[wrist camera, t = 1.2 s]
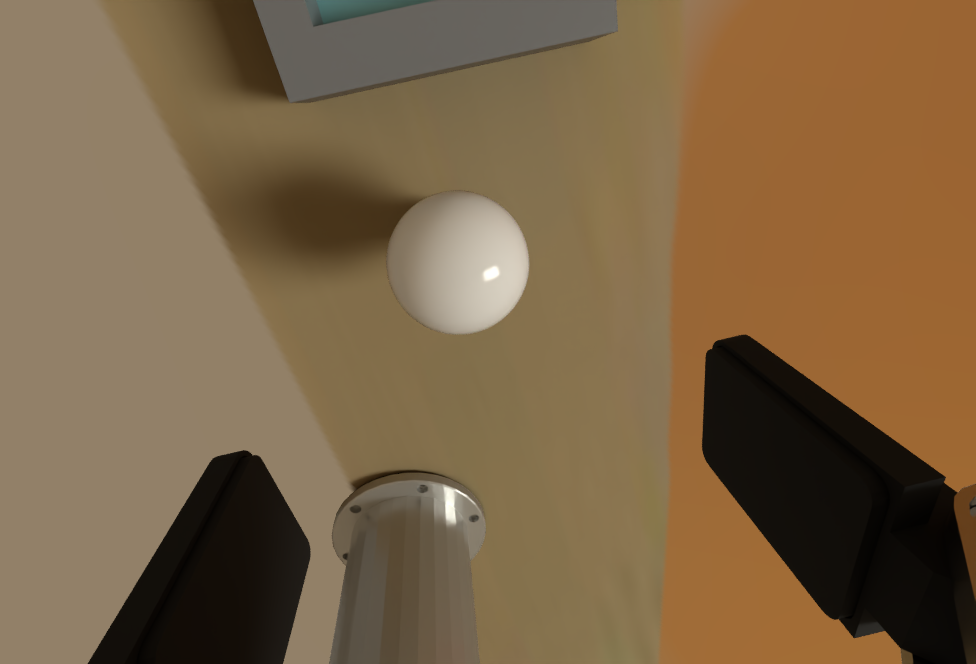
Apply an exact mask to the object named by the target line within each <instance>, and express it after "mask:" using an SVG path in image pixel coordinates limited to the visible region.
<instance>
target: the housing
mask: <svg viewBox="0 0 976 664" xmlns="http://www.w3.org/2000/svg"><path fill="white" fill-rule="evenodd" d="M253 2H254V5H255V8H256V10H257V13H258V16H259V19H260V22H261V24H262V27H263V30H264V33H265V35H266V38H267V41H268V44H269V47H270V49H271V52H272V55H273V58H274V61H275V63H276V66H277V69H278V72H279V74H280V77H281V80H282V83H283V86H284V88H285V91H286V94H287V97H288V99H289V102H290V103H310V102H315V101H319V100H324V99H329V98H333V97H338V96H342V95H347V94H351V93H356V92H361V91H365V90H370V89H374V88H379V87H383V86H388V85H393V84H397V83H402V82H406V81H411V80H415V79H420V78H424V77H429V76H434V75H438V74H443V73H447V72H452V71H456V70H461V69H466V68H470V67H475V66H479V65H484V64H488V63H493V62H498V61H502V60H507V59H511V58H516V57H520V56H525V55H529V54H534V53H539V52H543V51H548V50H552V49H557V48H561V47H566V46H571V45H575V44H580V43H584V42H589V41H592V40H595V39H597V38H600V37H603V36H606V35H608V34H611V33H614V32H616V31H618V25H617V4H616V0H253Z"/></svg>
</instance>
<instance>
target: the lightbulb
mask: <svg viewBox="0 0 976 664" xmlns="http://www.w3.org/2000/svg"><path fill="white" fill-rule="evenodd" d="M386 268H387V275H388V280H389V283H390V286H391V289H392V291H393V293H394V295H395V297H396V299H397V301H398V302H399V304H400V305H401V306H402V308H403V309H404V310H405V311H406V312H407V313H408V314H409V315H410V316H411V317H412V318H413V319H414V320H416V321H417V322H419V323H420V324H422V325H423V326H425V327H427V328H429V329H432V330H434V331H437V332H441V333H445V334H452V335H465V334H472V333H476V332H480V331H483V330H485V329H488V328H490V327H492V326H493V325H495V324H497V323H498V322H500V321H501V320H502V319H503V318H505V317H506V316H507V315H508V314H509V313H510V312H511V311H512V310H513V308H514V307H515V306H516V304H517V303H518V301H519V300H520V298H521V296H522V294H523V292H524V289H525V286H526V283H527V279H528V274H529V253H528V248H527V244H526V241H525V238H524V235H523V233H522V231H521V229H520V227H519V225H518V224H517V222H516V221H515V219H514V218H513V217H512V216H511V215H510V213H509V212H508V211H507V210H506V209H504V208H503V207H502V206H501V205H499V204H498V203H497V202H495V201H493V200H492V199H490V198H488V197H486V196H483V195H481V194H477V193H474V192H469V191H458V190H457V191H445V192H440V193H437V194H434V195H431V196H429V197H426V198H424V199H423V200H421V201H419V202H418V203H416V204H415V205H414V206H412V207H411V208H410V209H409V210H408V211H407V212H406V213H405V214H404V215H403V216H402V218H401V219H400V220H399V222H398V223H397V225H396V227H395V228H394V230H393V233H392V235H391V238H390V240H389V244H388V248H387V256H386Z"/></svg>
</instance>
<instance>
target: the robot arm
mask: <svg viewBox="0 0 976 664" xmlns="http://www.w3.org/2000/svg"><path fill="white" fill-rule="evenodd" d="M702 450H703V454H704V457H705V460H706V462H707V463H708V464H709V466H710V467H711V469H712V470H713V471H714V472H715V474H716V475H717V476H718V478H719V479H720V480H721V482H722V483H723V484H724V485H725V487H726V488H727V489H728V491H729V492H730V493H731V494H732V496H733V497H734V498H735V500H736V501H737V502H738V503H739V505H740V506H741V507H742V508H743V510H744V511H745V512H746V514H747V515H748V516H749V517H750V519H751V520H752V521H753V522H754V524H755V525H756V526H757V528H758V529H759V530H760V531H761V533H762V534H763V535H764V537H765V538H766V539H767V540H768V542H769V543H770V544H771V546H772V547H773V548H774V549H775V551H776V552H777V553H778V555H779V556H780V557H781V558H782V560H783V561H784V562H785V563H786V565H787V566H788V567H789V569H790V570H791V571H792V572H793V574H794V575H795V576H796V578H797V579H798V580H799V581H800V582H801V584H802V585H803V587H804V588H805V589H806V590H807V592H808V593H809V594H810V596H811V597H812V598H813V599H814V600H815V602H816V603H817V604H818V606H819V607H820V608H821V609H822V611H823V612H824V613H825V614H826V615H828V616H829V617H830V618H832V619H834V620H836V619H839V620H840V621H841V623H842V624H843V625H844V626H845V628H846V629H847V630H848V631H849V633H850V634H851V635H852V636H853V638H857V637H861V636H865V635H870V634H874V633H878V632H882V631H886V632H887V633H888V634H889V636H890V637H891V638H892V639H893V640H894V641H895V642H896V644H897V645H899V647H900V648H901V658H902V664H976V484H973V485H970V486H968V487H965V488H962V489H961V490H960V491H959V492H958V493H957V492H956V491H954V490H953V489H952V488H950V487H949V486H947V485H946V484H945V483H944V481H945V478H946V477H945V476H943V475H942V474H941V473H939V472H938V471H936V470H935V469H934V468H932V467H931V466H929V465H928V464H927V463H925V462H924V461H922V460H921V459H920V458H918V457H917V456H916V455H914V454H913V453H911V452H910V451H909V450H907V449H906V448H904V447H903V446H902V445H900V444H899V443H897V442H896V441H895V440H893V439H892V438H891V437H889V436H888V435H886V434H885V433H884V432H882V431H881V430H879V429H878V428H876V427H875V426H874V425H872V424H871V423H870V422H868V421H867V420H865V419H864V418H863V417H861V416H859V415H858V414H857V413H856V412H854V411H853V410H852V409H850V408H849V407H847V406H846V405H844V404H843V403H842V402H840V401H839V400H837V399H836V398H835V397H833V396H832V395H831V394H829V393H828V392H826V391H825V390H824V389H822V388H821V387H819V386H818V385H817V384H815V383H814V382H813V381H811V380H810V379H808V378H807V377H806V376H804V375H803V374H801V373H800V372H799V371H797V370H796V369H794V368H793V367H792V366H790V365H789V364H787V363H786V362H785V361H783V360H782V359H780V358H779V357H778V356H776V355H775V354H774V353H772V352H771V351H769V350H768V349H767V348H765V347H764V346H762V345H761V344H760V343H758V342H757V341H755V340H754V339H753V338H751V337H750V336H748V335H739V336H735V337H731V338H726V339H722V340H718V341H716V342H715V343H714V345H713V348H712V349H710V350H708V351H707V353H706V362H705V387H704V414H703V438H702ZM485 533H486V528H485V518H484V513H483V509H482V507H481V505H480V503H479V501H478V499H477V498H476V497H475V496H474V495H473V494H472V493H471V492H470V491H469V490H468V489H466V488H465V487H464V486H462V485H461V484H459V483H457V482H455V481H453V480H451V479H449V478H445V477H442V476H438V475H434V474H427V473H401V474H394V475H389V476H386V477H382V478H379V479H376V480H374V481H371V482H369V483H367V484H365V485H363V486H362V487H360V488H359V489H357V490H356V491H355V492H353V493H352V494H351V495H350V496H349V497H348V498H347V499H346V500H345V501H344V502H343V503H342V505H341V507H340V508H339V510H338V512H337V514H336V518H335V522H334V526H333V532H332V540H333V547H334V549H335V551H336V553H337V556H338V557H339V558H340V560H341V561H342V562H343V563H344V564H345V565H346V570H345V576H344V582H343V587H342V593H341V599H340V605H339V610H338V616H337V621H336V627H335V633H334V639H333V644H332V650H331V656H330V662H329V664H480V659H479V648H478V638H477V627H476V616H475V605H474V595H473V584H472V573H471V562H470V561H471V560H472V559H473V558H474V557H475V555H476V554H477V553H478V552H479V550H480V548H481V546H482V544H483V542H484V538H485ZM309 561H310V545H309V542H308V539H307V538H306V536H305V534H304V532H303V531H302V529H301V527H300V525H299V524H298V522H297V520H296V518H295V517H294V515H293V513H292V511H291V510H290V508H289V506H288V504H287V503H286V501H285V499H284V497H283V496H282V494H281V492H280V490H279V489H278V487H277V485H276V483H275V482H274V480H273V478H272V476H271V475H270V473H269V471H268V469H267V468H266V466H265V464H264V462H263V461H262V459H261V458H260V457H259V456H257V455H253V456H252V454H251V453H250V452H248V451H244V450H243V451H239V452H234V453H230V454H226V455H221V456H217V457H215V458H213V459H212V460H211V462H210V463H209V465H208V466H207V468H206V470H205V471H204V473H203V475H202V477H201V478H200V480H199V481H198V483H197V485H196V486H195V488H194V489H193V491H192V493H191V494H190V496H189V498H188V499H187V501H186V503H185V504H184V506H183V508H182V509H181V511H180V512H179V514H178V516H177V517H176V519H175V521H174V522H173V524H172V526H171V527H170V529H169V531H168V532H167V534H166V536H165V537H164V539H163V541H162V542H161V544H160V546H159V547H158V549H157V551H156V552H155V554H154V556H153V557H152V559H151V560H150V562H149V564H148V565H147V567H146V568H145V570H144V572H143V574H142V575H141V577H140V578H139V580H138V582H137V583H136V585H135V587H134V588H133V590H132V592H131V593H130V595H129V597H128V599H127V600H126V601H125V603H124V605H123V606H122V608H121V610H120V611H119V613H118V615H117V616H116V618H115V620H114V621H113V623H112V624H111V626H110V628H109V629H108V631H107V633H106V635H105V636H104V638H103V640H102V641H101V643H100V644H99V646H98V648H97V649H96V651H95V653H94V654H93V656H92V658H91V659H90V661H89V662H88V664H283V661H284V658H285V653H286V650H287V646H288V642H289V638H290V634H291V630H292V627H293V623H294V619H295V615H296V610H297V607H298V603H299V599H300V595H301V592H302V588H303V584H304V580H305V576H306V572H307V568H308V564H309Z"/></svg>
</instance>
